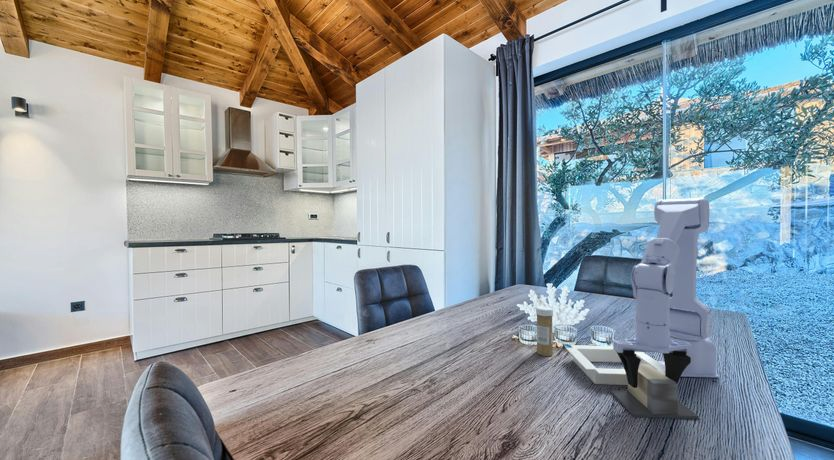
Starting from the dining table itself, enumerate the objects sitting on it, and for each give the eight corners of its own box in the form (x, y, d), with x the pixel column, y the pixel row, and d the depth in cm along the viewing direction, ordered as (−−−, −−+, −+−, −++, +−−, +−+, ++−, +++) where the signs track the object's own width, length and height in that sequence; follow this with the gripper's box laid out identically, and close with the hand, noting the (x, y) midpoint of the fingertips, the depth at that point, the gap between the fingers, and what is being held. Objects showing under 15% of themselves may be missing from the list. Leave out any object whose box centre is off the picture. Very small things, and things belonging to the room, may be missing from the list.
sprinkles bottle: (556, 354, 95) (556, 308, 94) (546, 357, 92) (546, 310, 92) (542, 349, 99) (542, 304, 98) (532, 352, 96) (532, 307, 96)
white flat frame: (634, 358, 91) (634, 346, 91) (678, 390, 74) (678, 375, 74) (563, 357, 93) (563, 344, 93) (590, 387, 76) (590, 373, 75)
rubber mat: (667, 394, 72) (667, 391, 72) (698, 419, 63) (698, 416, 63) (610, 392, 73) (610, 390, 73) (633, 416, 64) (633, 413, 64)
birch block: (648, 390, 73) (649, 363, 73) (677, 414, 64) (678, 383, 64) (627, 390, 73) (627, 363, 73) (652, 413, 64) (653, 383, 64)
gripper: (626, 327, 65) (625, 395, 65) (704, 328, 63) (703, 397, 64) (608, 316, 72) (608, 378, 72) (678, 317, 70) (678, 380, 71)
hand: (651, 386), depth 68 cm, fingers open, 7 cm apart
